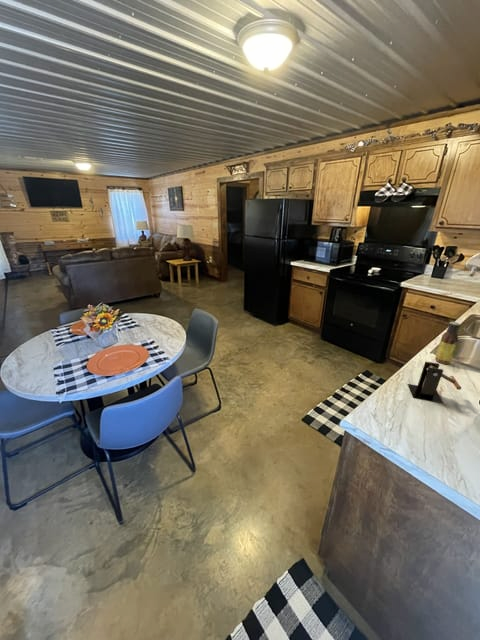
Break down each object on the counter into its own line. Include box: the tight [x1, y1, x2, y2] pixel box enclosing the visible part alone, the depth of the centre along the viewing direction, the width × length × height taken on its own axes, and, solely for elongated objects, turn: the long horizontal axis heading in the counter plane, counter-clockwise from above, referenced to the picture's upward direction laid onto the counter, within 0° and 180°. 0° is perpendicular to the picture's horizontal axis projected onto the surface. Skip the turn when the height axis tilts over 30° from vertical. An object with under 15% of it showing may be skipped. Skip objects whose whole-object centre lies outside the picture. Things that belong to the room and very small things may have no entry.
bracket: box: [407, 361, 444, 405], centre depth 100 cm, size 10×9×14 cm
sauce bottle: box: [434, 321, 461, 365], centre depth 123 cm, size 7×6×20 cm
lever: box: [426, 365, 462, 391], centre depth 98 cm, size 11×7×2 cm, turn 72°
